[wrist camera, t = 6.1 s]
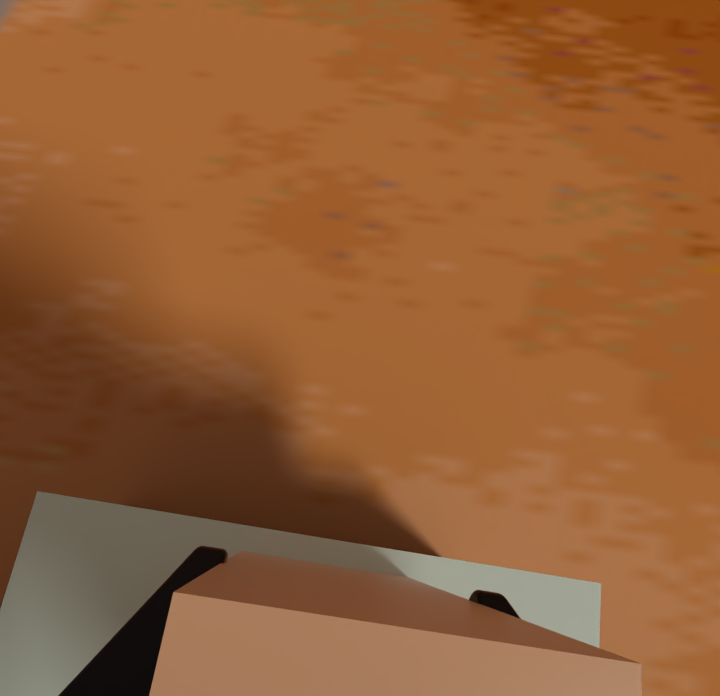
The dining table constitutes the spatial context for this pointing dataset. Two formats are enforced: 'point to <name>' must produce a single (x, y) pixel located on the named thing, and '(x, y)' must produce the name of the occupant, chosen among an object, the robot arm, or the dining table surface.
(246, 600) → the lid
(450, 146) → the dining table surface
